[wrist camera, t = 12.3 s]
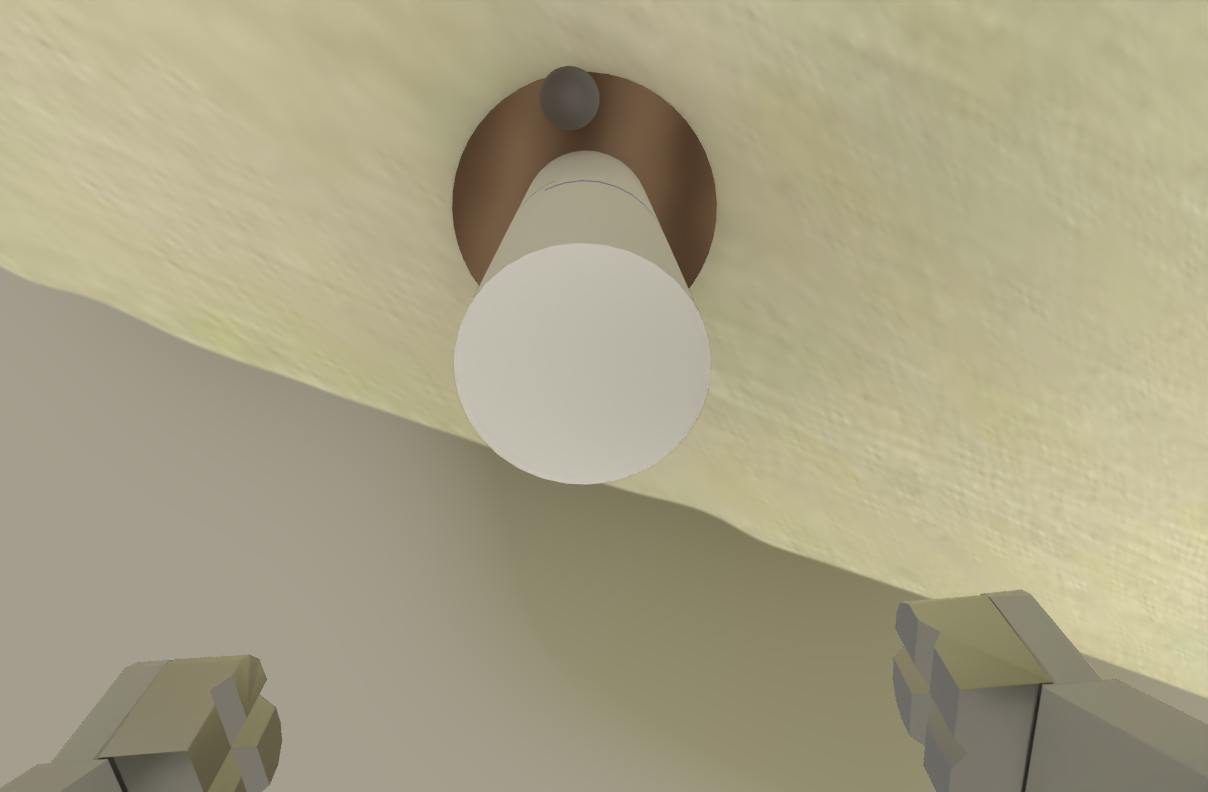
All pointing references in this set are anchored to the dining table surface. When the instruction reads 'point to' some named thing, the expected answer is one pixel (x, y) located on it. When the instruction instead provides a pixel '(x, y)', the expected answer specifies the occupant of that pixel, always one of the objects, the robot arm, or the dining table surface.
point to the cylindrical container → (583, 331)
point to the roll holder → (583, 123)
